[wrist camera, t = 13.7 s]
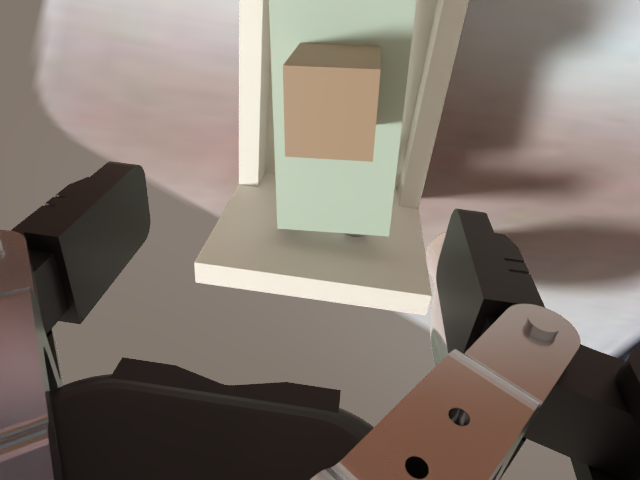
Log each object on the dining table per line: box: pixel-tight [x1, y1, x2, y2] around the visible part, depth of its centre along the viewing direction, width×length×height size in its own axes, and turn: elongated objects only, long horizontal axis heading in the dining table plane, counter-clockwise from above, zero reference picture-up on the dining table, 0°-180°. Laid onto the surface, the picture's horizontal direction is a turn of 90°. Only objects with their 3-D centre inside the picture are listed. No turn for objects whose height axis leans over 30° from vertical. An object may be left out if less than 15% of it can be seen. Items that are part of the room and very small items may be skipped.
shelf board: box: [269, 0, 416, 236], centre depth 23 cm, size 18×7×7 cm, turn 179°
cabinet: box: [194, 0, 469, 315], centre depth 28 cm, size 14×24×15 cm, turn 174°
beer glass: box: [425, 231, 448, 367], centre depth 37 cm, size 7×7×15 cm
